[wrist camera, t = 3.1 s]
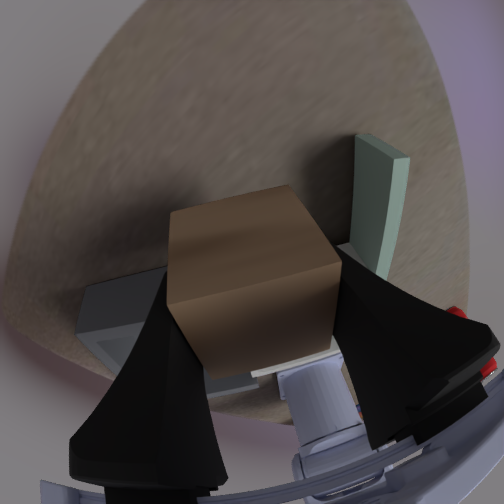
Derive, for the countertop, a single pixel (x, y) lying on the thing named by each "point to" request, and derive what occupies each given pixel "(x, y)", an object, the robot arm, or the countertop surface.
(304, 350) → the walnut block
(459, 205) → the countertop surface
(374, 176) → the box with green panel
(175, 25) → the countertop surface
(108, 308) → the gray open box
